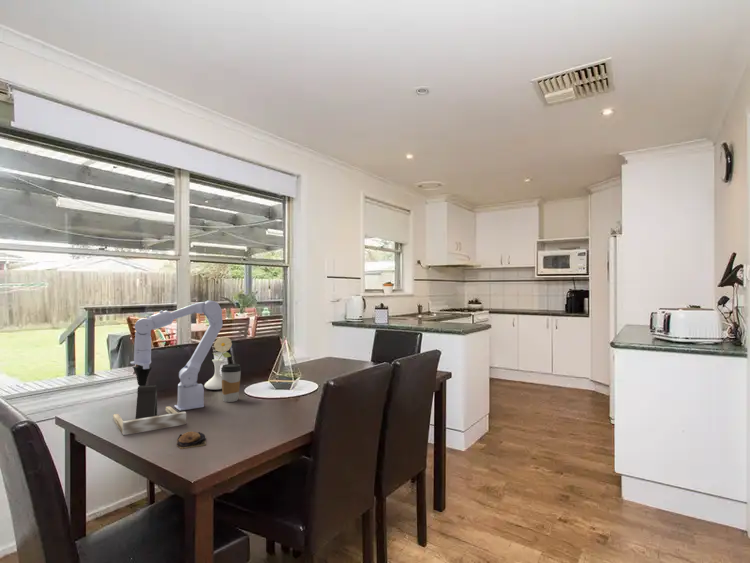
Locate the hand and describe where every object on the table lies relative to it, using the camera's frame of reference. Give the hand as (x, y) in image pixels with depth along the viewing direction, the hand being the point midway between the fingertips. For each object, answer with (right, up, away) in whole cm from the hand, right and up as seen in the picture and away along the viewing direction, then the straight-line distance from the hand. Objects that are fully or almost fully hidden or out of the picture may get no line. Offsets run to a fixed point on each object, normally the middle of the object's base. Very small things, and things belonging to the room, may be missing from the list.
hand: (141, 385), depth 164 cm
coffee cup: (+28, -12, +20) cm, 36 cm away
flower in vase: (+15, -12, +40) cm, 44 cm away
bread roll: (+32, -11, -31) cm, 46 cm away
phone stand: (+6, -11, -8) cm, 15 cm away
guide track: (+8, -10, -10) cm, 17 cm away
